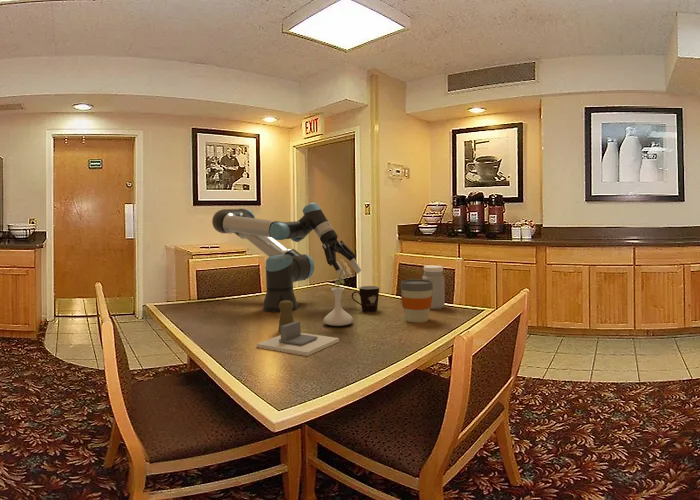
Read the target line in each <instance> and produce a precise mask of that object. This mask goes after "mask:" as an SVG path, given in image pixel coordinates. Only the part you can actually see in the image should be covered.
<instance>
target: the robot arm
mask: <svg viewBox="0 0 700 500" xmlns="http://www.w3.org/2000/svg"><path fill="white" fill-rule="evenodd" d="M302 213H303V216H302V217H301V218H299V220H297V221H296V220H295V221H279V220H271V219H262V218H255V217H256V216H255V214H254V213H253V211H251V210H249V209H247V208H230V209H225V208H224V209H223V208H222V209H220V210H218V211H217V212H215V213H214V215H213V216H212V219H211V221H212V222H211V223H212V226H213V229H214V230H215V231H217V232H218V233H220V234H229V235H230V234H234V235H236V236H237V237H239V238H240V239H243V240H245V239H246V240H248V241H249V242H250V243H251V244H253V246H255V247H256V248H257V249H259V250H260V251H261V252H263V253H264V254H265V255H266V256H268V258H266V260H265V267H264V268H265V283H266V285H265V287H266V293H265V297H264V300H263V304H262V309H263V311H265V312H271V313H280V309H279V303H280V302H281V301H284V300H289V301H292V303H293V308H292V311H295V310H297V309H299V308H298V301H297V297H296V295H295V292H294V283H297V282H301V281H305V280H308V279H310V278H311V277H312V276H313V274H314V271H315V262H314V259H313V258H312V257H311V256H310V255H308V254H306V253H305V254H304V253H303V254H301V253H300V252H298V251H297V249H294V248H288V247H287V246H286V245H285V244H283V243H282V242H280V241H284V240H290V241H293V242H295V243H299V242H301V241H302V240H304V239H305V238H306V237H307V236H308V235H309V234H310V233H311V232H312V231H313V230H314V231H313V232H314V233H315V234H316V236H317V237H318V238H319V240H320V242H321V244H322V245H321V246H322V249H323V252H324V256H325V258H326V259H325V260H326V262H327V264H328V265H329V267H331V266H332V267H333V268H334V270H335V271H336V273H337V274H338V277H339V276H340V274H341V271H342V269H343V267H342V265H341V263H340V262H339V261H337V253H338V254H340V255H342V256H343V257H345V258H346V259H347V260H348V261H349V264H350V266H351V267H352V269H353V270H354V272H355V274H356V275H358V274H359V273H361V272H362V271H363V270H362V268H361V267H360V265H359V264H358V262H357V260H356V258H357V256H356V254H355V253H354V252H353V251H352V250H351V249H350V248H349V247H348V246H347V245H346V244H345V243H344V241H343V240H340V241H338V238H339V235H338V233H336V231H335V230H334V228H333V226H332V224H331V222H329V220H328V219H327V217H326V216H325V214H324V212H323V210H322V208H320V206H319V204H318V203H317V202H310V203H308V204H306V205H305V206H304V207H303V209H302ZM346 275H347V274H346V273H345V271H344V270H343V271H342V274H341V276H340V278H342V279H343V277H345V276H346Z"/></svg>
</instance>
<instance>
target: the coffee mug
mask: <svg viewBox="0 0 700 500" xmlns="http://www.w3.org/2000/svg"><path fill="white" fill-rule="evenodd" d="M358 289H359V291H357V290H356V291H353V292H352V294H351V299H352V300H353V301H354V302H355V303H357V304H359V305H360V306H361V311H362V312H363V313H375V312H378V306H379V294H380V286H377V285H364V286H360V287H358ZM355 293H357V294H358V295H359V296H360V297H359V298H360V302H359V301H358V300H356V299H355V298H354V294H355Z"/></svg>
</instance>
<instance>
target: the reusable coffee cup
mask: <svg viewBox="0 0 700 500" xmlns="http://www.w3.org/2000/svg"><path fill="white" fill-rule="evenodd" d="M432 289H433V285H432V281H430V280H422V278H419V279H414V278H413V279H412V278H411V279H404V280H401V282H400V290H401V295H400V299H401V306H402V308H403V312H404V313H403V314H404V319H405V320H404V321H406V322H410V323H425V322H428V321H429V318H430V310H431V309H430V308H431V303H432V295H431V294H432Z"/></svg>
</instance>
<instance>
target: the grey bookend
mask: <svg viewBox="0 0 700 500" xmlns="http://www.w3.org/2000/svg"><path fill="white" fill-rule="evenodd" d="M301 330H302V329H301V321H298V320H295V321H294V322H292V323H289V324H286V325H283V326H281V332H280V335H281V339H280V340H279V342H284V343H288V344H294V345H304V344H306V343H308V342H310V341H313V340H315V339H318V337H316V336H309V335H302V334H301V333H302V332H301Z"/></svg>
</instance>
